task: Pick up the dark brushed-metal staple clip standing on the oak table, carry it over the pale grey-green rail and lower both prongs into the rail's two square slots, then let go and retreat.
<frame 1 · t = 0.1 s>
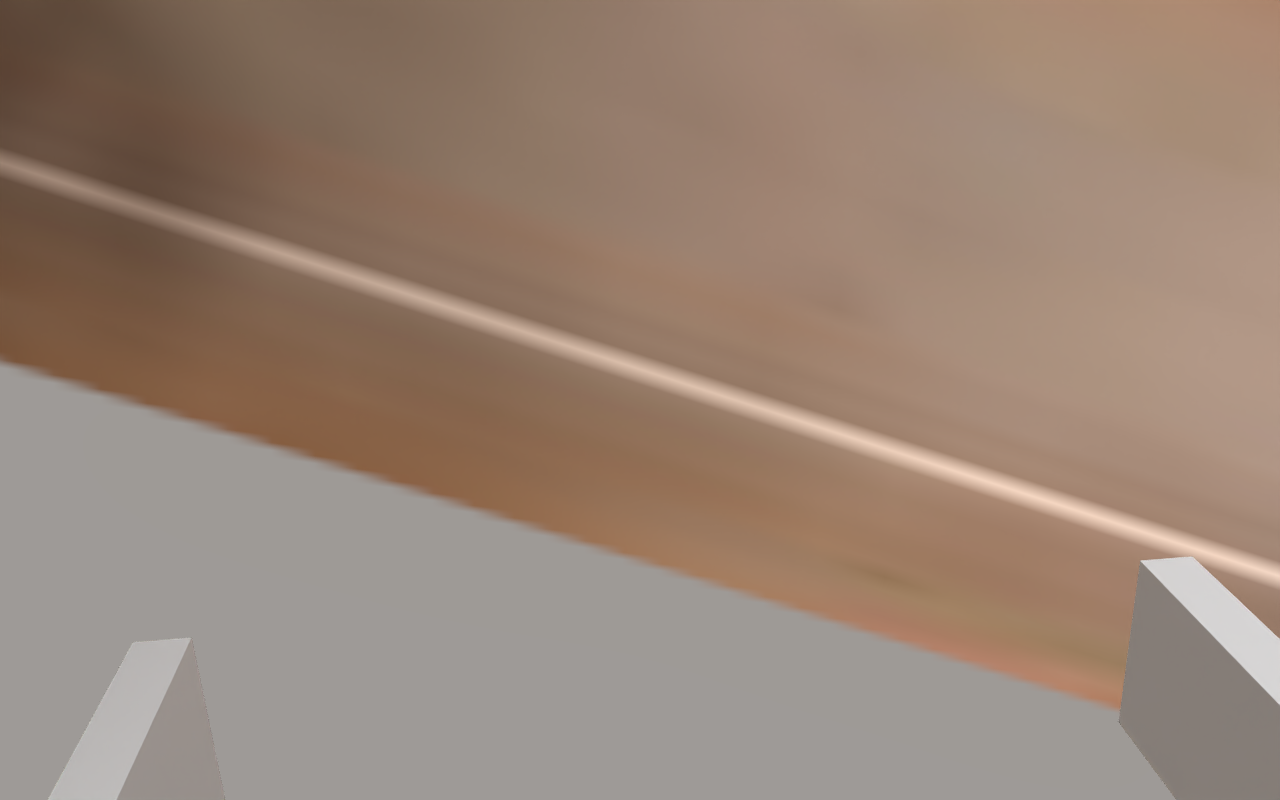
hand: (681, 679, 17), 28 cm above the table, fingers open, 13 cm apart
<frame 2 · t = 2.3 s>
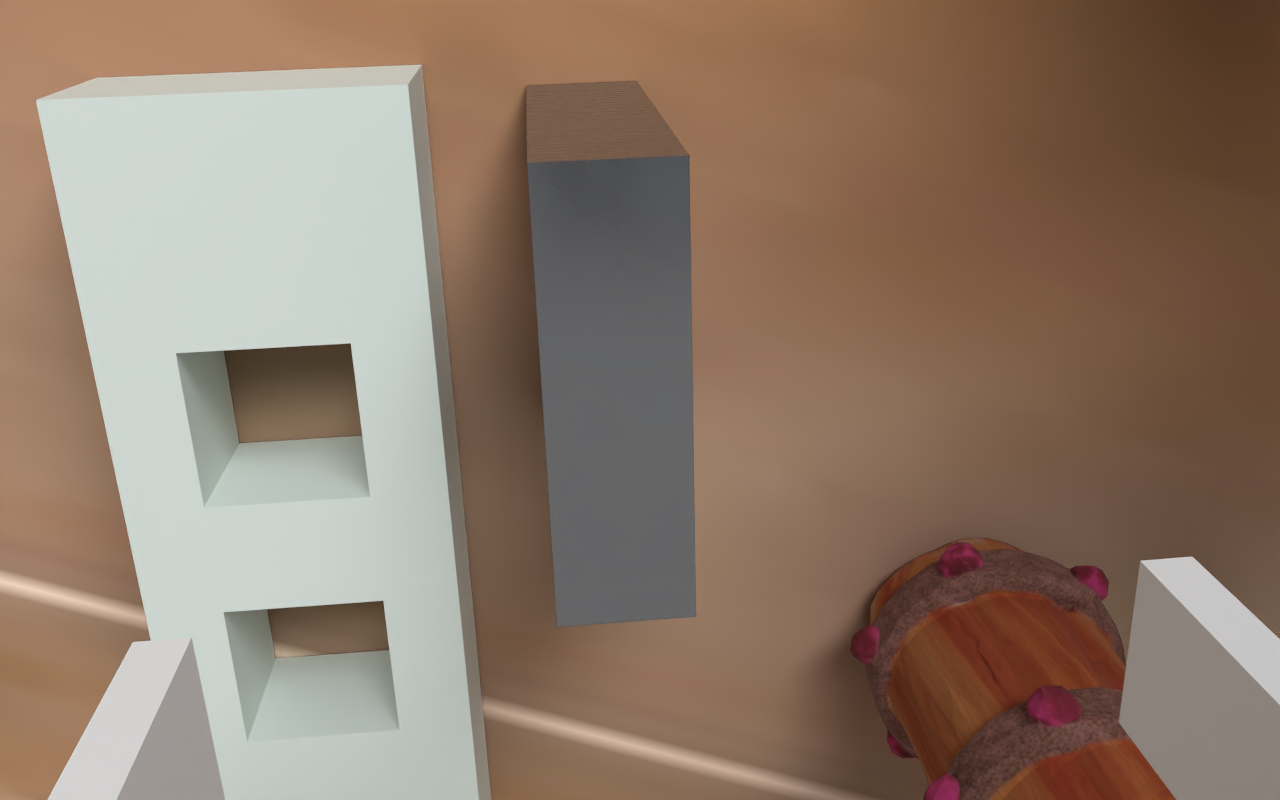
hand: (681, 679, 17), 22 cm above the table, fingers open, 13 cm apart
mug: (1023, 615, 43), on the table
clip: (589, 261, 37), on the table
rail: (320, 487, 39), on the table
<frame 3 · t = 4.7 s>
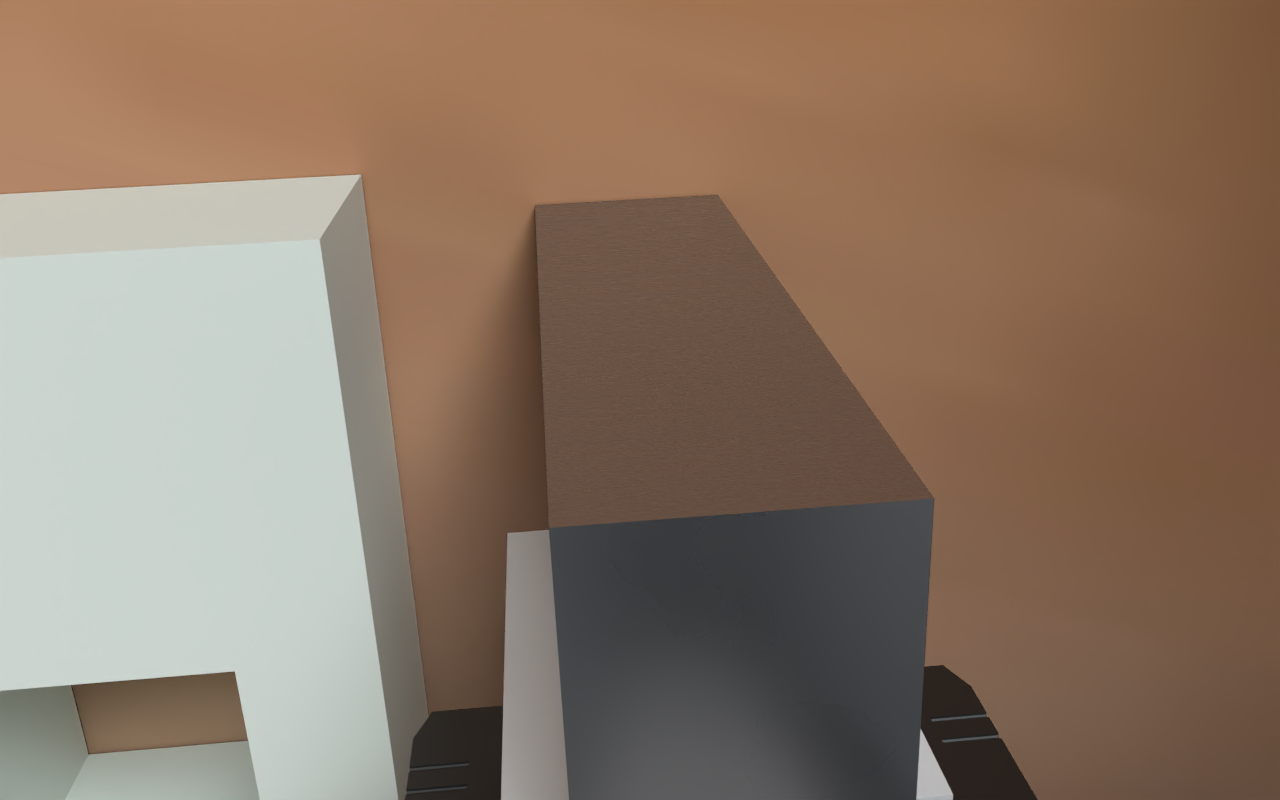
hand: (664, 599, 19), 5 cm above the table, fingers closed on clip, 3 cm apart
clip: (638, 474, 23), on the table, touching gripper
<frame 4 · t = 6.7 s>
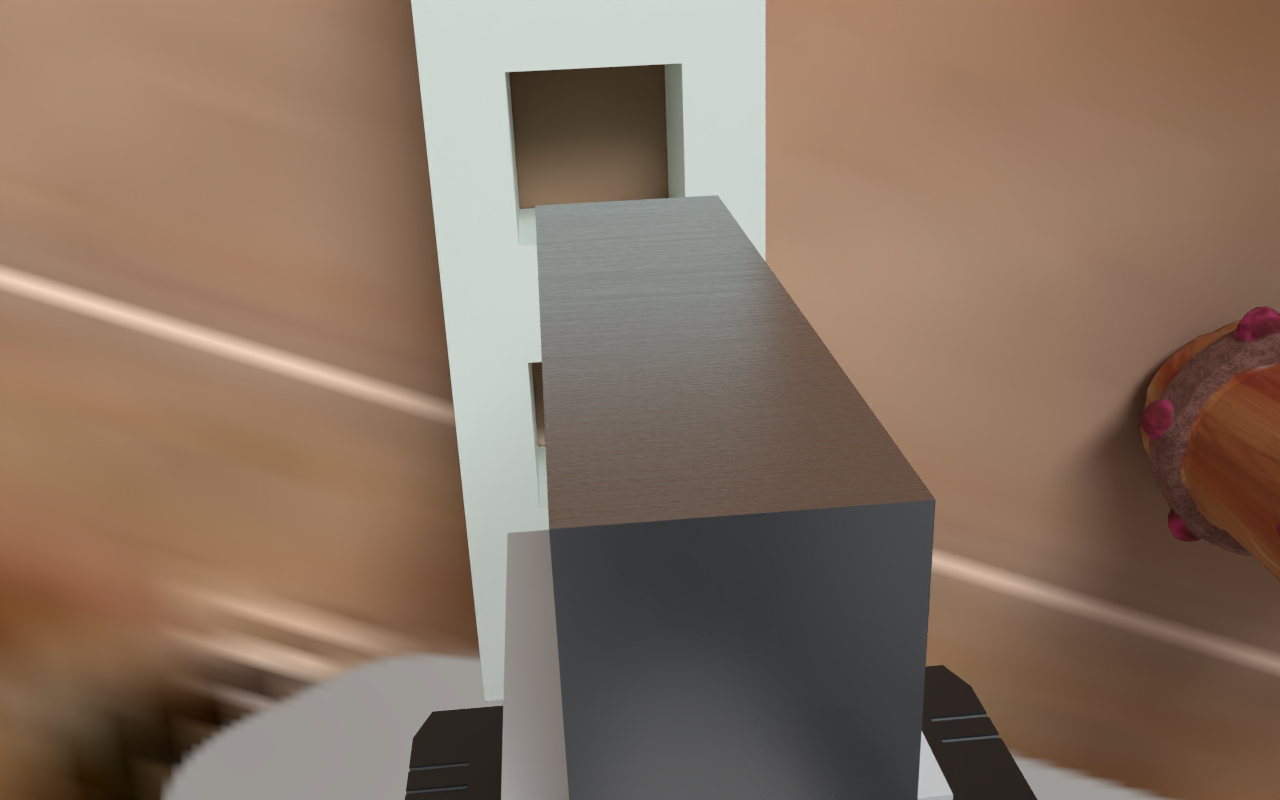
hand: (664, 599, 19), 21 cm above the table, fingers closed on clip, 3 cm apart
clip: (638, 475, 23), point 16 cm above the table, touching gripper
rail: (597, 258, 38), on the table
when the fingers open (7 cm above the table, at t = 8.9 s): clip drops 2 cm, on the table.
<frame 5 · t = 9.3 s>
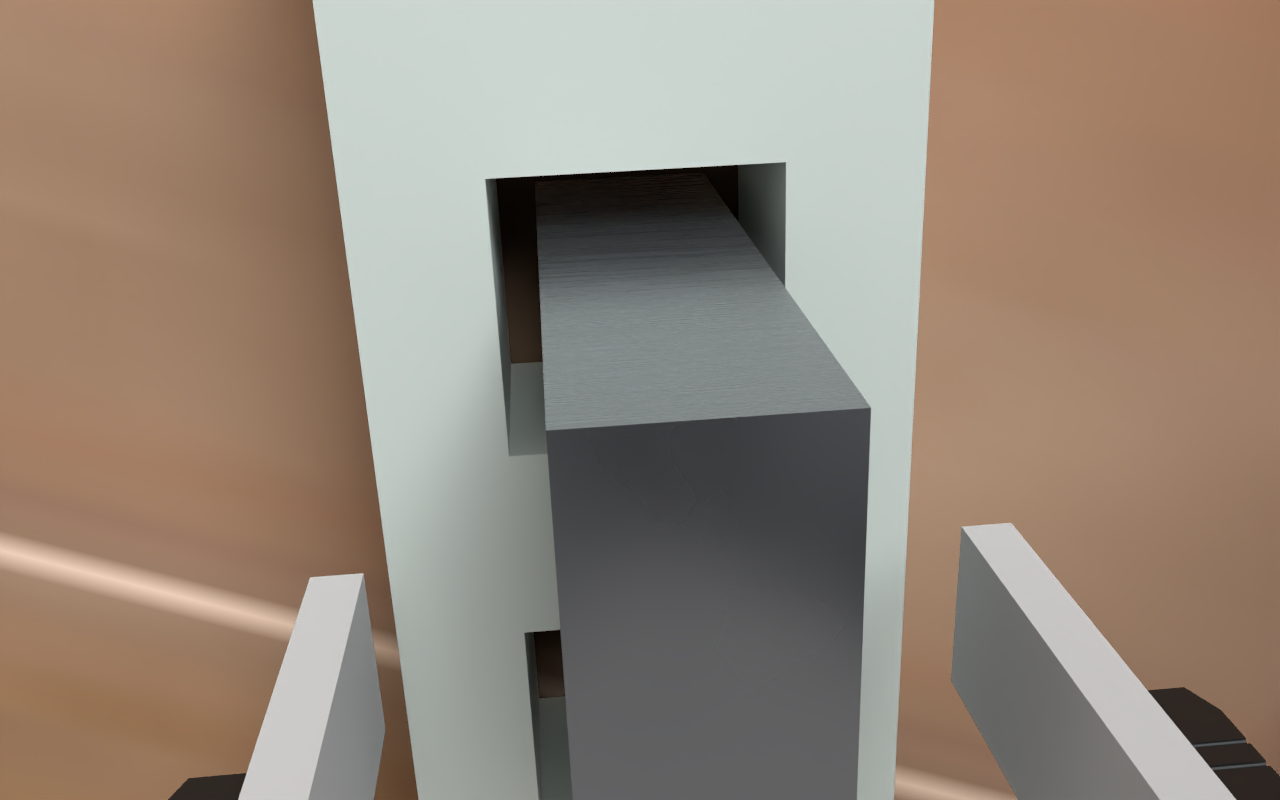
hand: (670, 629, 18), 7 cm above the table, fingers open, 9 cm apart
clip: (630, 433, 25), on the table
rail: (629, 433, 25), on the table
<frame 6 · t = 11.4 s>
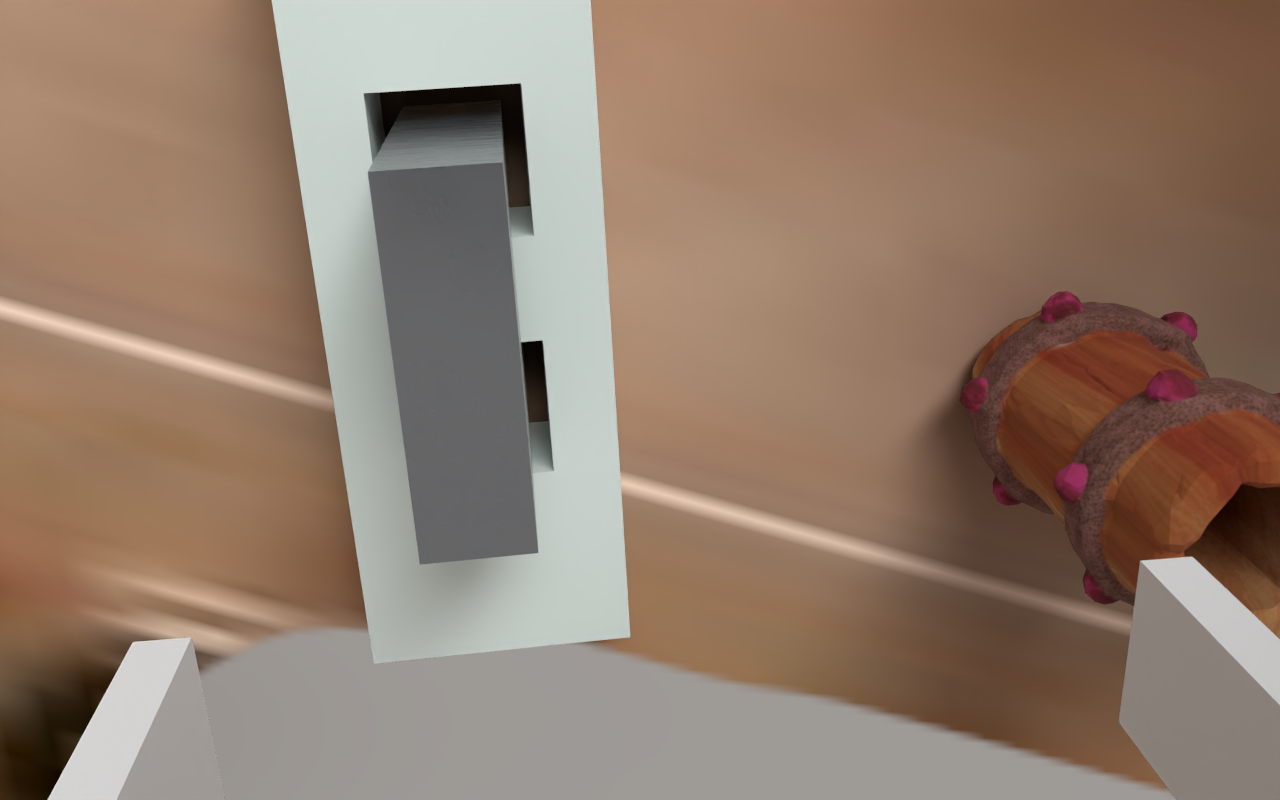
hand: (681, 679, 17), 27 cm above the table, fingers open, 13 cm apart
mug: (1109, 385, 47), on the table
clip: (468, 258, 42), on the table
rail: (467, 259, 42), on the table
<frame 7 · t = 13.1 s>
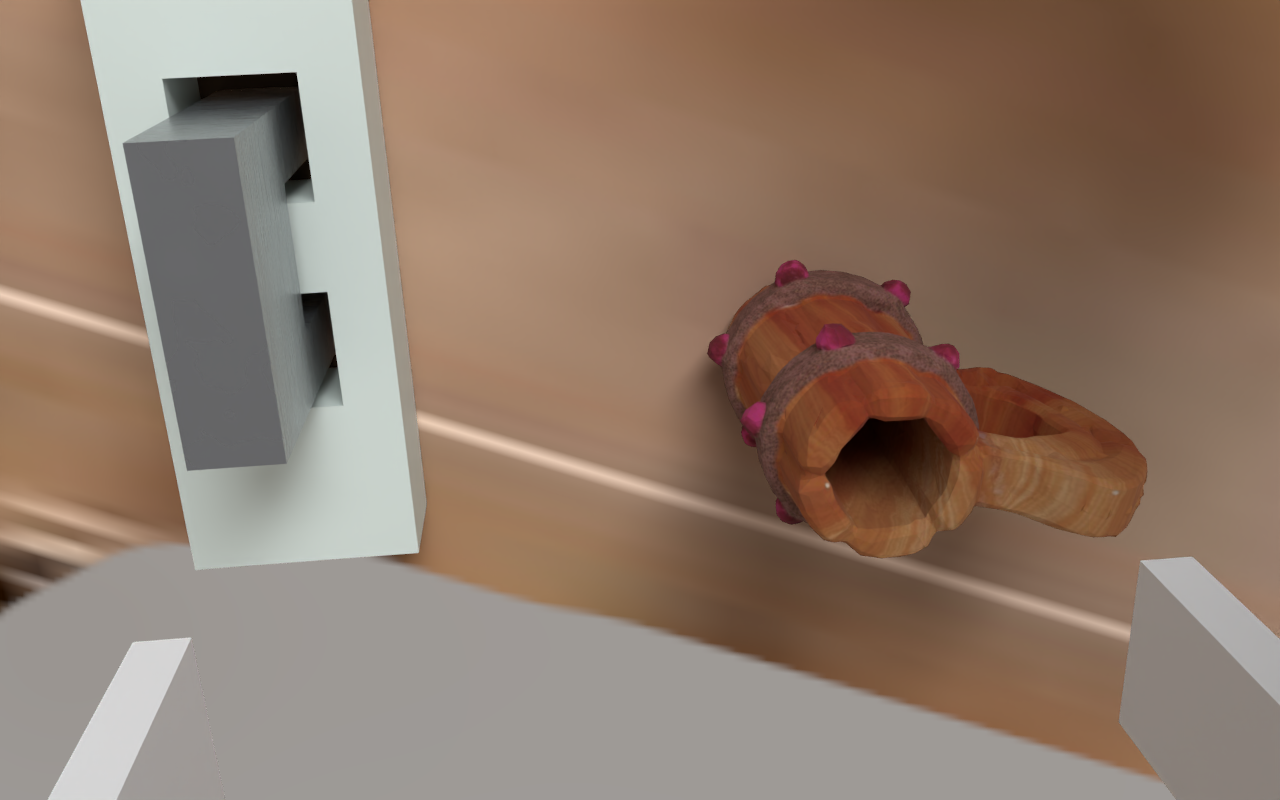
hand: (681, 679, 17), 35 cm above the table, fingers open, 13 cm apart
mug: (859, 346, 53), on the table
clip: (281, 222, 48), on the table
rail: (280, 223, 48), on the table
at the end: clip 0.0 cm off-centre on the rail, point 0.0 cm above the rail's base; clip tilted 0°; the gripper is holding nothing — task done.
